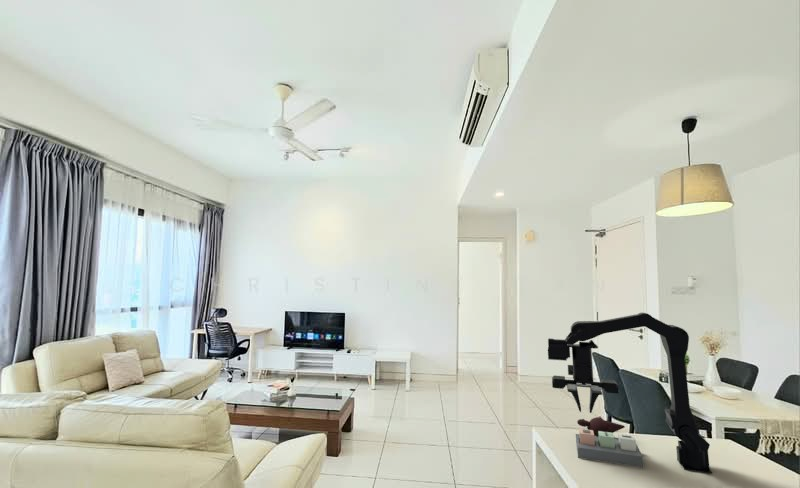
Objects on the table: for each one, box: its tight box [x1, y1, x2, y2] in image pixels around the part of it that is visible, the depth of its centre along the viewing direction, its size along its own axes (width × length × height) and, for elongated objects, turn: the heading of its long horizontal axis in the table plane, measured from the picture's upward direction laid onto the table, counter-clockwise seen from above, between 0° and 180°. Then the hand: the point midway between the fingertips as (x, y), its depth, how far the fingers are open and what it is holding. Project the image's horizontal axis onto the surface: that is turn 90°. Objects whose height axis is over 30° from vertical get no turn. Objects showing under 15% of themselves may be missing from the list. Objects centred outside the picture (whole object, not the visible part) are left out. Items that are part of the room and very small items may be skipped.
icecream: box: [576, 416, 625, 437], centre depth 129 cm, size 7×7×15 cm
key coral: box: [578, 428, 595, 446], centre depth 118 cm, size 4×4×4 cm
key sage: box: [598, 431, 616, 448], centre depth 116 cm, size 4×4×4 cm
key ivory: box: [617, 433, 637, 451], centre depth 114 cm, size 4×4×4 cm
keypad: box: [575, 433, 645, 468], centre depth 116 cm, size 17×11×3 cm, turn 68°
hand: (585, 412), depth 119 cm, fingers open, 3 cm apart
